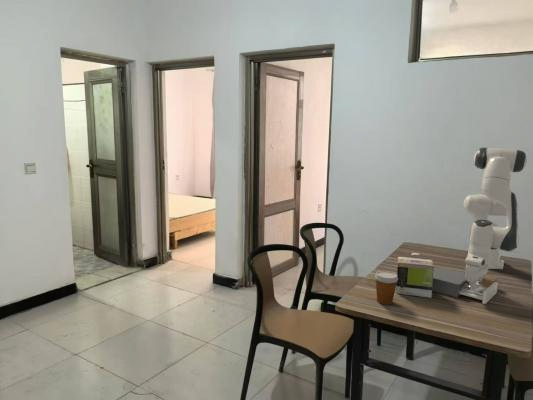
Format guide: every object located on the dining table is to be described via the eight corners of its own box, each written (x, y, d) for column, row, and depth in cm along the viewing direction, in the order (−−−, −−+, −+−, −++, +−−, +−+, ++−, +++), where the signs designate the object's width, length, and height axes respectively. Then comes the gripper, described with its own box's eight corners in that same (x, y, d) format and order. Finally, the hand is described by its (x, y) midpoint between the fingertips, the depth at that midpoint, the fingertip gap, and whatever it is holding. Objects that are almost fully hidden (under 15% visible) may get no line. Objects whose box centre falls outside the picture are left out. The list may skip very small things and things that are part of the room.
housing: (438, 278, 199) (439, 266, 198) (470, 286, 189) (472, 274, 188) (423, 288, 186) (424, 275, 185) (457, 297, 176) (458, 284, 175)
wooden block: (484, 285, 191) (485, 275, 190) (495, 288, 187) (497, 278, 186) (480, 288, 187) (482, 278, 186) (492, 291, 184) (494, 280, 183)
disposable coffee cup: (393, 308, 164) (395, 280, 162) (370, 302, 169) (371, 275, 167) (398, 300, 172) (401, 273, 170) (376, 295, 177) (378, 269, 175)
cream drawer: (461, 284, 191) (462, 274, 190) (496, 292, 181) (497, 282, 180) (448, 293, 179) (449, 283, 178) (485, 304, 169) (486, 292, 168)
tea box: (430, 290, 183) (433, 259, 181) (431, 298, 174) (434, 266, 172) (395, 285, 188) (398, 255, 186) (395, 293, 179) (397, 261, 176)
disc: (470, 286, 183) (470, 282, 183) (485, 290, 179) (485, 286, 179) (465, 290, 179) (465, 286, 178) (481, 294, 174) (481, 290, 174)
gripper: (478, 250, 186) (475, 279, 188) (463, 260, 171) (460, 291, 173) (493, 253, 182) (490, 282, 184) (479, 263, 167) (476, 295, 169)
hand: (475, 287), depth 179 cm, fingers open, 8 cm apart
